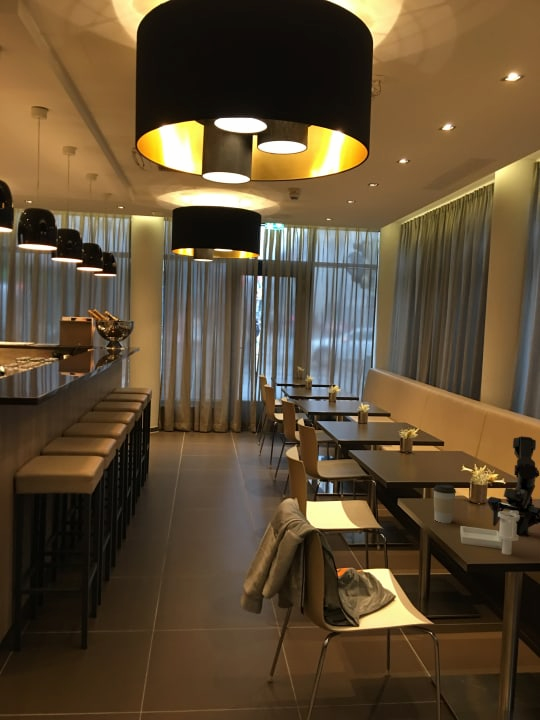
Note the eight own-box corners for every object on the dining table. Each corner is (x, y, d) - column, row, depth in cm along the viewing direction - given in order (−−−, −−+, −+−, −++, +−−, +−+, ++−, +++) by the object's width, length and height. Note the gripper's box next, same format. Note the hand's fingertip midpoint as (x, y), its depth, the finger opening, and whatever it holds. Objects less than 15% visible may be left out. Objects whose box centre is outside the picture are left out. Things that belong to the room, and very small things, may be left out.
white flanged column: (521, 556, 202) (524, 513, 201) (503, 557, 200) (506, 514, 200) (509, 549, 208) (511, 507, 208) (491, 549, 207) (494, 508, 206)
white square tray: (460, 532, 225) (460, 525, 225) (497, 537, 222) (497, 530, 222) (461, 543, 212) (462, 536, 212) (501, 548, 209) (501, 541, 208)
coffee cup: (456, 520, 241) (458, 484, 241) (451, 525, 234) (453, 488, 233) (434, 516, 246) (436, 480, 245) (429, 521, 238) (431, 484, 238)
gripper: (491, 474, 213) (474, 509, 206) (543, 485, 199) (526, 522, 192) (500, 492, 219) (483, 527, 211) (551, 504, 205) (535, 541, 198)
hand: (506, 529), depth 203 cm, fingers open, 9 cm apart
